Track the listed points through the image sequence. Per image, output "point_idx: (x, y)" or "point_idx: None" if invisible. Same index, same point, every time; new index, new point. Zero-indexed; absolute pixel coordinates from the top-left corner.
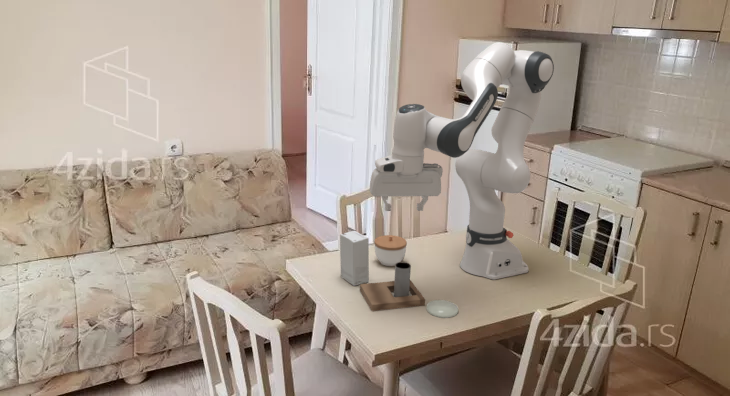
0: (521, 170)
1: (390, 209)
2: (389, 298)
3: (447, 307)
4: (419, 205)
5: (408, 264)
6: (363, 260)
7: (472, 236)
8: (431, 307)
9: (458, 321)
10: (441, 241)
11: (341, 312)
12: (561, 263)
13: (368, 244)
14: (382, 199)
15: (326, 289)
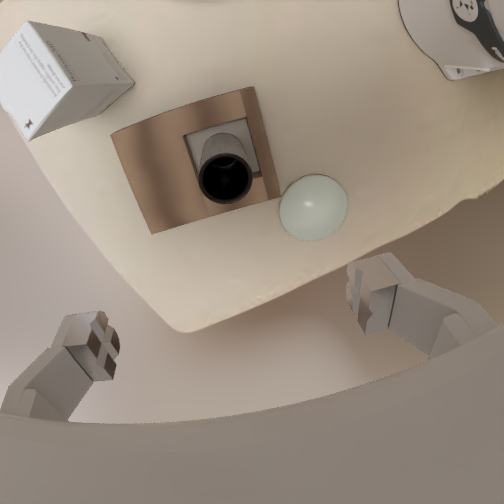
0: None
1: (115, 353)
2: (190, 200)
3: (325, 210)
4: (371, 330)
5: (245, 168)
6: (93, 100)
7: (480, 25)
8: (290, 212)
9: (333, 247)
10: None
11: (96, 238)
12: None
13: (85, 85)
14: (22, 379)
15: (45, 145)
